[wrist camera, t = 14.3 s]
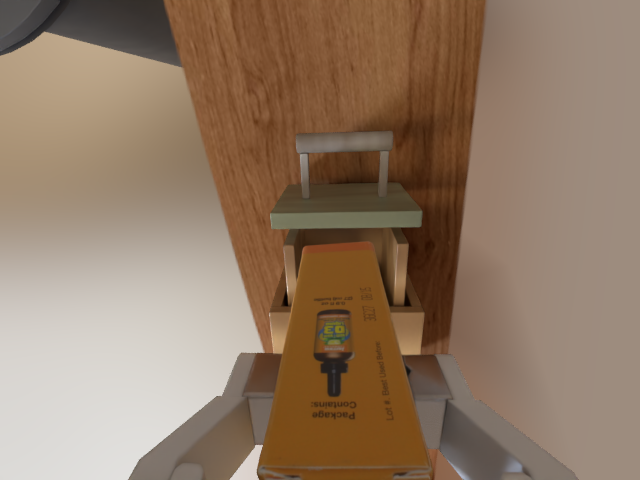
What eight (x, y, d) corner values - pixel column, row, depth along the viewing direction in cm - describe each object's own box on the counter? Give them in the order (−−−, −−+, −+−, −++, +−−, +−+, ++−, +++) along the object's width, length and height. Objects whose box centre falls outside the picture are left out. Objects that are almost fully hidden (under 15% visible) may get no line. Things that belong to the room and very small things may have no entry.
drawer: (283, 129, 28) (262, 138, 20) (402, 126, 28) (430, 134, 20) (296, 305, 35) (284, 364, 27) (391, 305, 35) (408, 365, 27)
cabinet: (288, 253, 34) (268, 312, 24) (398, 252, 33) (424, 312, 23) (296, 360, 39) (283, 443, 30) (391, 361, 39) (410, 446, 29)
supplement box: (310, 305, 16) (273, 570, 7) (303, 242, 15) (246, 465, 6) (376, 302, 16) (430, 573, 7) (375, 238, 15) (440, 465, 5)
